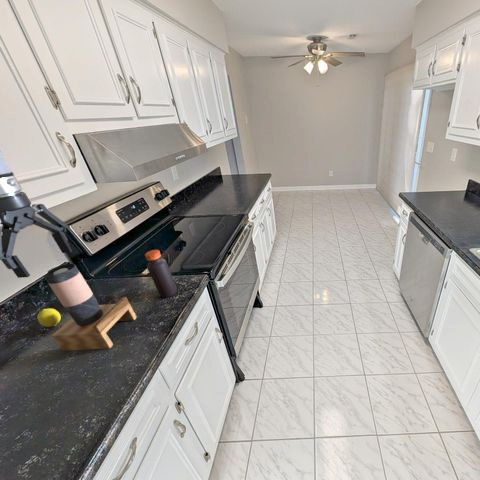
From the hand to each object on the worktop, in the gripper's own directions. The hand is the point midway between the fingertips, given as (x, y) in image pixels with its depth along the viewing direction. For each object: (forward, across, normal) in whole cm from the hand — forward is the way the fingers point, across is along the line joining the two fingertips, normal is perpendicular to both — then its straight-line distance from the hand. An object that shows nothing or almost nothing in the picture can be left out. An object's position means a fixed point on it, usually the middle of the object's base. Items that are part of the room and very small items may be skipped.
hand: (47, 263), depth 76 cm
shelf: (+30, +1, -2) cm, 30 cm away
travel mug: (+23, +1, -1) cm, 23 cm away
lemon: (+30, +6, +20) cm, 37 cm away
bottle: (+30, +22, -16) cm, 40 cm away
